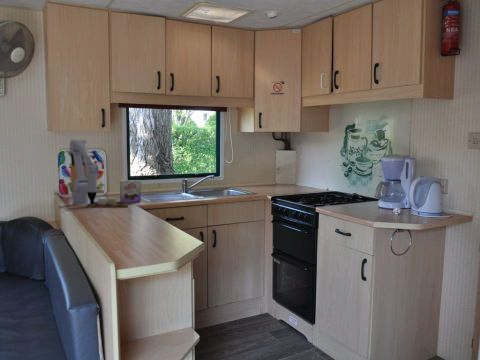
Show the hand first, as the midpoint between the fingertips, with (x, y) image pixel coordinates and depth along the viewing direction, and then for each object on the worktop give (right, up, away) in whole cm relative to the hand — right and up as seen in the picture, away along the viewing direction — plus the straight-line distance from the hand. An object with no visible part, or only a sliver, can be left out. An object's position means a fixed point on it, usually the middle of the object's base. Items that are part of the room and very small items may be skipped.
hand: (92, 204), depth 280 cm
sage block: (+12, -1, +2) cm, 13 cm away
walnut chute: (+10, -3, +2) cm, 11 cm away
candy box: (+19, -1, +22) cm, 29 cm away
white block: (+6, -1, +1) cm, 7 cm away
